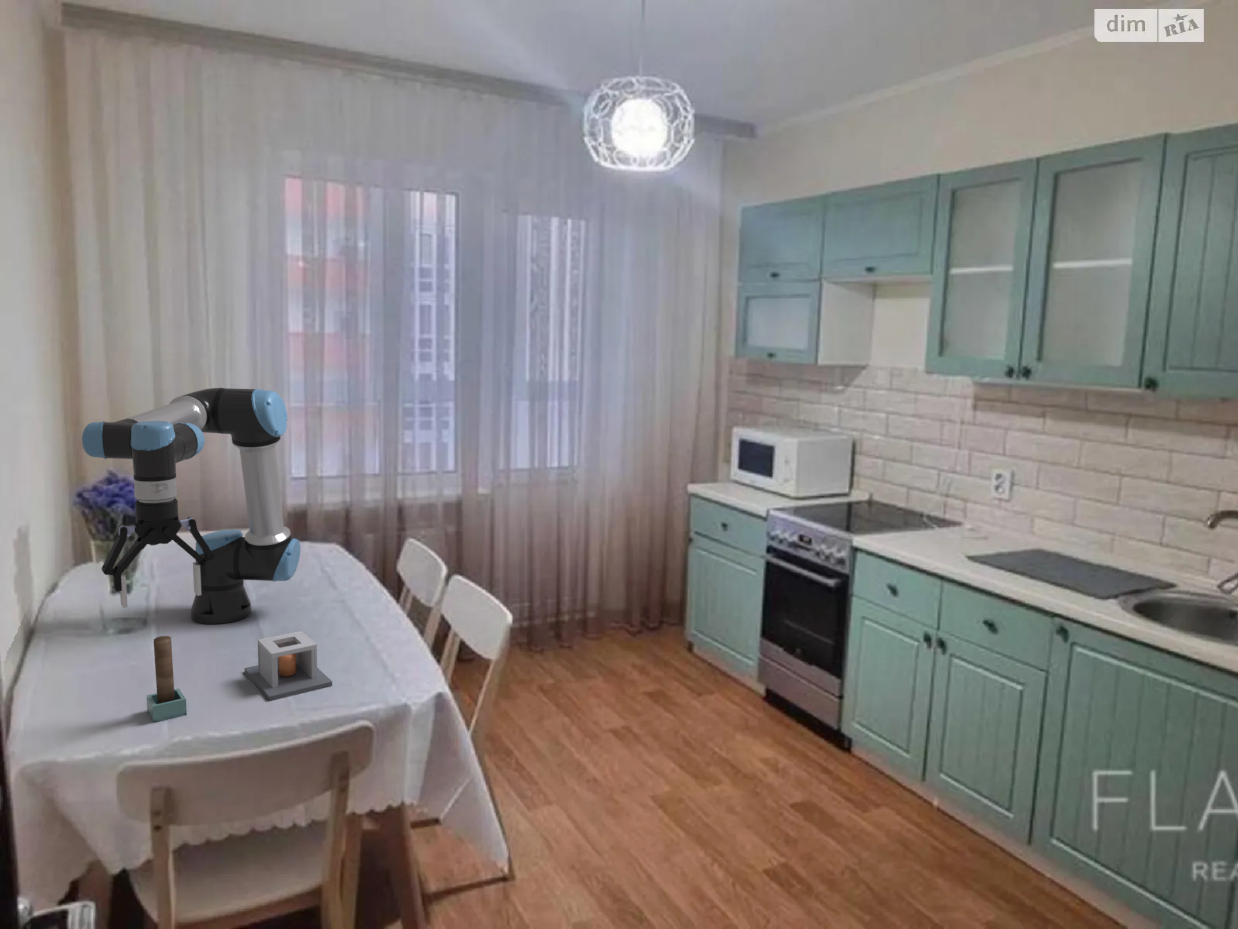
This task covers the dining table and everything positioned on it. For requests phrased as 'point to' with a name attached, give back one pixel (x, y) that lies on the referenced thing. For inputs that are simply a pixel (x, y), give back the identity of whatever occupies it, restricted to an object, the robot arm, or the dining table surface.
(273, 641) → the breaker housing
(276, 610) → the dining table surface
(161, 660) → the brown wooden rod
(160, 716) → the box
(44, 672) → the dining table surface
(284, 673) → the button
